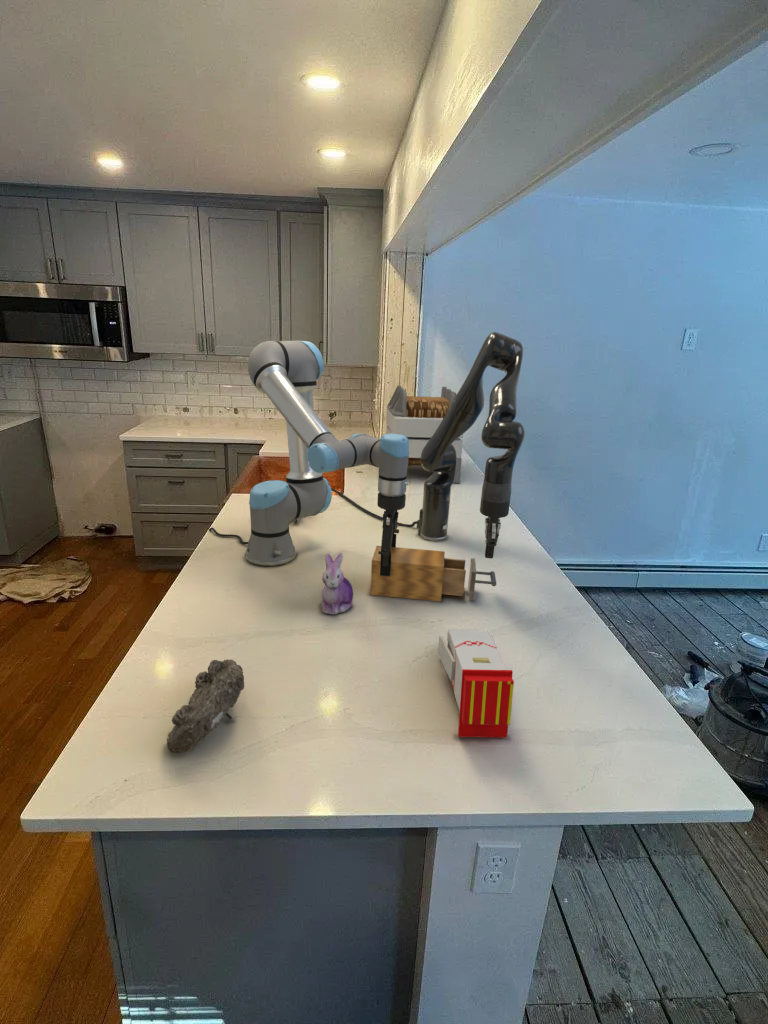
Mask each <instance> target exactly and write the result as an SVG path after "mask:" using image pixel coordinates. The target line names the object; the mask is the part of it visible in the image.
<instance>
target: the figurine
mask: <svg viewBox="0 0 768 1024" xmlns="http://www.w3.org/2000/svg"><path fill="white" fill-rule="evenodd" d="M343 557H344V553H343V552H339V553H337V556H336V557H335V558H334V559H333V558H332V556H331V554H330V553H326V555H325V558H324V560H325V562H324V563H325V568H324V571H323V573H322V577H321V578H322V579H321V580H322V583H323V587H322V590H321V599H322V603H321V607H322V612H323V613H325V614H329V615H337V614H339V613H344V612H347V611H348V610H350V608H351V607H352V606H353V599H354V590H353V585H352V584H351V582H350V580H349V579H348V578H346V577H345V575H344V572H343V570H342V568H341V565H342V562H343Z"/></svg>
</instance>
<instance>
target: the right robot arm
mask: <svg viewBox="0 0 768 1024" xmlns="http://www.w3.org/2000/svg"><path fill="white" fill-rule="evenodd" d="M523 357H524V346H523V344H522V342H521V341H520V340H517V339H515V338H512V337H510V336H508V335H506V334H503V333H500V332H496V331H492V332H490V333H489V334H488V335H487V336H486V338H485V340H484V341H483V342H482V345H481V347H480V349H479V351H478V353H477V355H476V357H475V360H474V362H473V364H472V366H471V368H470V370H469V372H468V374H467V375H466V378H465V380H464V381H463V383H462V385H461V386H460V388H459V389H458V392H456V396H455V398H454V400H453V402H452V403H451V405H450V407H449V409H448V411H447V413H446V415H445V416H444V418H443V420H442V422H441V423H440V425H439V427H438V428H437V430H436V431H435V433H434V434H433V436H432V437H431V438H430V440H429V441H428V443H427V444H426V445H425V447H424V448H423V450H422V453H421V465H422V466H421V467H422V469H423V470H424V471H426V472H428V473H432V474H431V475H430V476H429V477H427V478H426V479H425V480H424V482H423V493H422V496H423V497H422V506H421V508H420V509H419V516H418V520H416V521H413V522H412V523H410V524H409V523H408V524H406V523H402V522H399V521H397V526H399V527H405V528H413V527H414V526H415V525H416V529H417V535H418V536H420V538H421V539H424V540H426V541H432V542H440V541H444V540H446V539H447V538H448V527H449V517H450V516H449V514H450V504H451V494H452V493H451V491H452V486H453V484H454V483H453V482H454V476H455V469H456V461H457V455H456V450H455V448H454V446H453V445H452V443H453V442H454V441H455V440H456V439H457V438H459V437H460V436H461V435H462V434H463V435H464V434H465V433H466V432H467V431H468V430H470V429H471V427H473V425H475V422H477V420H478V418H479V416H480V415H481V413H482V411H483V409H484V407H485V393H484V383H483V382H484V379H483V378H484V373H485V371H486V369H487V368H488V367H491V368H493V369H495V370H497V371H498V370H499V371H501V372H504V373H505V376H504V377H502V378H501V379H500V380H499V381H498V382H496V384H495V385H494V386H493V388H492V389H491V390H490V394H489V403H488V404H489V407H488V416H487V417H486V418H487V419H486V420H485V423H484V425H483V427H482V431H481V435H480V438H481V442H482V444H483V445H484V446H485V448H488V449H497V450H498V449H499V450H506V451H505V452H504V453H503V454H500V455H495V456H490V457H488V458H487V459H486V461H485V467H484V477H483V482H482V487H481V494H480V505H479V512H480V514H481V515H482V516H485V518H484V537H485V540H484V541H485V547H484V548H485V550H484V558H485V559H493V558H494V555H495V547H497V544H498V540H499V536H500V530H501V527H502V523H501V518H506V517H508V516H509V513H510V505H511V498H512V497H511V495H512V479H513V472H514V466H515V464H516V463H515V462H516V460H517V457H518V454H519V452H520V449H521V447H522V445H523V443H524V440H525V436H526V430H525V427H524V425H523V424H522V423H521V422H519V421H514V420H515V419H516V418H517V414H518V400H517V394H518V393H517V391H518V384H519V380H520V376H521V369H522V363H523ZM331 490H332V492H334V493H335V494H337V495H339V496H341V497H342V498H344V499H345V500H347V501H348V502H349V503H350V504H352V505H353V506H354V507H357V509H359V510H361V511H362V512H365V513H366V514H367V515H370V516H372V517H374V518H377V519H379V520H381V521H383V516H380V515H378V514H376V513H373V512H372V511H369V510H368V509H366V508H364V507H363V506H361V505H360V504H358V503H356V502H355V501H354V500H352V499H351V498H349V497H348V496H347V495H345V494H343V493H342V492H340V491H338V489H334V488H332V487H331Z"/></svg>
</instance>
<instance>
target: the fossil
mask: <svg viewBox="0 0 768 1024" xmlns="http://www.w3.org/2000/svg"><path fill="white" fill-rule="evenodd" d="M243 670H244V669H243V667H242V665H240V664H237V662H236V661H235V660H234V659H232V658H231V659H227V658H226V659H224V660H223V661H222V660H217V659H212V660H211V661H210V663H209V665H208V666H207V671H201V672H199V673H198V674H197V675H196V676H195V680H194V684H195V685H194V687H195V689H194V690H193V693H192V694H191V697H190V698H189V700H188V704H184V705H182V706H181V707H180V709H177V710H176V711H175V713H174V715H173V716H172V718H171V723H172V724H173V727H172V730H171V731H170V732H168V734H167V738H166V741H167V742H166V745H167V749H168V750H169V751H173V752H174V753H176V754H178V753H182V752H188V751H189V752H192V751H193V750H195V748H196V747H197V746H199V744H200V743H201V742H203V741H204V740H205V739H206V738H207V737H208V736H209V735H210V734H211V733H212V732H214V730H215V729H217V727H218V726H219V724H220V722H221V721H222V720H223V719H224V718H225V716H226V717H227V719H229V720H233V717H232V715H230V714H229V710H230V709H231V708H234V706H235V704H236V703H237V702H238V699H239V697H240V695H241V693H242V691H243V690H245V689H244V688H245V675H244V671H243Z"/></svg>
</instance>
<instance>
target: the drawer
mask: <svg viewBox="0 0 768 1024" xmlns="http://www.w3.org/2000/svg"><path fill="white" fill-rule="evenodd" d="M469 562H470V564H469V573H468V583H467V588H468V589H467V590H468V601H474V596H475V590H476V589H475V588H476V584H483V585H491V587H496V586H497V578H496V572H495V571H494V570H491V571H490V572H489V571H478V570H477V563H476V558H475V557H471V558H470V561H469ZM466 572H467V570H466V559H460V558H459V559H458V558H449V557H448V558H447V557H444V573H443V585H442V595H447V596H456V597H457V596H459V597H464V591H465V583H466ZM477 575H484V576H489V577H490V581H488V580H479V579H476V578H477Z"/></svg>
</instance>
